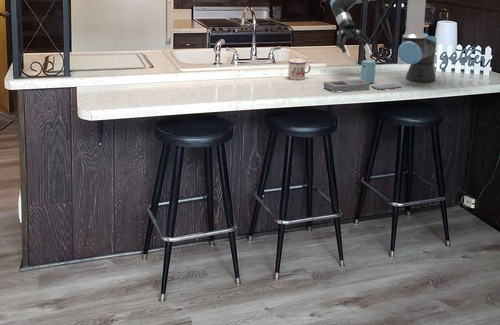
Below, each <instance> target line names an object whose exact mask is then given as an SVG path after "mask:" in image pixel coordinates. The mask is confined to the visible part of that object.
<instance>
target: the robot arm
mask: <svg viewBox="0 0 500 325" xmlns="http://www.w3.org/2000/svg"><path fill="white" fill-rule="evenodd" d="M371 1H372V0H368V2H371ZM368 2H367V3H368ZM426 2H427V0H407V6H406V7H407V9H406V25H405V33H404V34H403V35H402V37H401V40H402V41H401V44H400V45H399V46H398V49H397V50H398V51H397V54H398V57H399V59H400V61H401V62H403V63H404V64H407V65H409V67H408V71H407V73H406V74H405V79H406V80H408V81H411V82H416V83H417V82H418V83H432V82H436V77H437V76H436V71H435V66H434V64H435V57H436V51H437V41H438V40H437V37H436V36H433V35H432V36H431V35H426V34H425V33H424V32H425V31H424V29H425V28H424V27H425V17H426V16H425V15H426ZM329 4H330V7H331V8H330V9H331V10H332V13H333V15H334V17H335V20H336V23H337V26H338V27H339V29H338V30H337V32H336V35H337V37H336V46H335V47H337V48H339V49H340V50H341V52H342V53H343V54H344V57H345V59H346V60H347V59H349V58H350V56H351V55H350V53H349V50H348V48H347V45H346V44H345V43H346V41H347V39H354V40H357V41H358V42H359V43H360V44H362V45H363V46H364V47H363V48H364V50H365V53H366V55H367V57H368V58H370V57H371V56H372V55H373V53H372V51H371V46H370V45H371V43H372V40H370V38H368V37H367V35H366V34H365V33H364V32H363V30H362V29H361V28H358V29H356V28H355V23H354V21H353V20H352V16H351V14H350V12H349V10H350V9H351V8H352V7H354V5H355V6H356V4H362V0H330V2H329ZM342 35H343V38H342ZM368 40H370V41H368Z"/></svg>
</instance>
